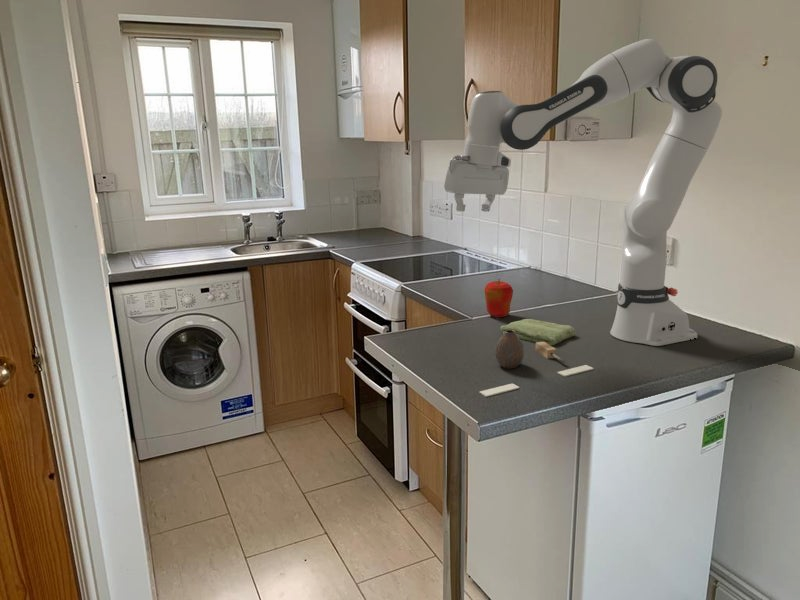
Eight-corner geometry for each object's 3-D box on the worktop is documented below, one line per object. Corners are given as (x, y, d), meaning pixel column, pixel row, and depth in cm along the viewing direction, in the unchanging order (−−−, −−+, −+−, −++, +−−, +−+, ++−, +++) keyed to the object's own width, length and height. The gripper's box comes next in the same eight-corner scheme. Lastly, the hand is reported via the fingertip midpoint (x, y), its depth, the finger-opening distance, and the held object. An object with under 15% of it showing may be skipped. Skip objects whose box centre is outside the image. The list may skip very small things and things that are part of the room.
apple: (478, 315, 189) (479, 278, 186) (497, 310, 194) (498, 274, 191) (498, 321, 183) (499, 283, 179) (517, 316, 187) (519, 278, 184)
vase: (506, 358, 153) (507, 325, 151) (529, 365, 148) (530, 331, 146) (489, 365, 148) (489, 331, 146) (512, 373, 143) (513, 337, 141)
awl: (535, 351, 158) (535, 342, 157) (543, 350, 158) (544, 341, 158) (559, 367, 147) (560, 358, 146) (568, 366, 147) (569, 356, 147)
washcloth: (523, 324, 181) (523, 314, 180) (577, 337, 169) (578, 326, 168) (497, 335, 172) (497, 324, 171) (552, 349, 160) (552, 337, 159)
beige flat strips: (585, 366, 147) (586, 364, 147) (593, 369, 144) (593, 368, 144) (479, 392, 133) (479, 391, 133) (485, 397, 131) (485, 395, 131)
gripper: (460, 155, 146) (453, 213, 150) (515, 160, 159) (507, 213, 163) (442, 153, 151) (435, 209, 155) (497, 158, 164) (490, 209, 168)
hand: (473, 211), depth 159 cm, fingers open, 8 cm apart
